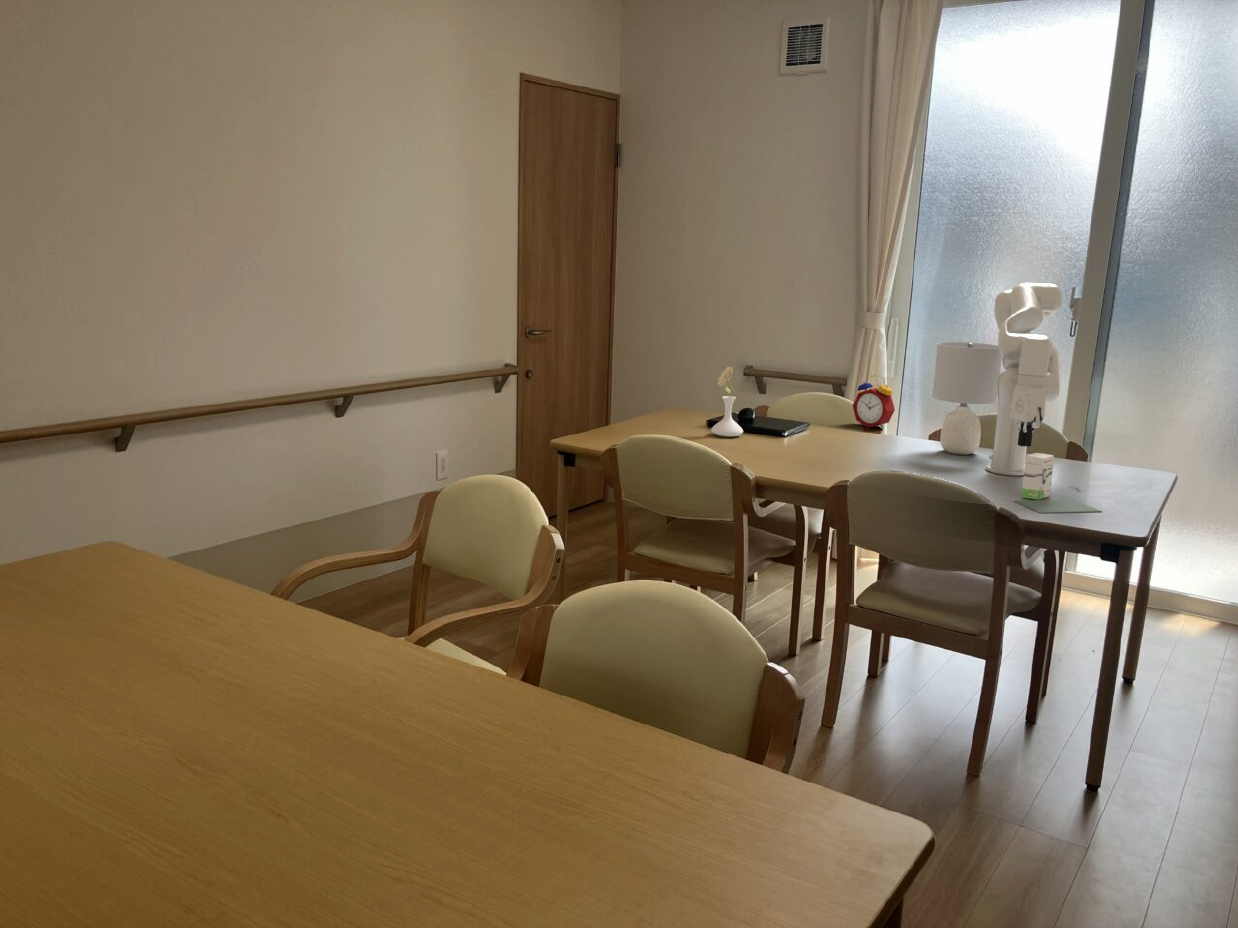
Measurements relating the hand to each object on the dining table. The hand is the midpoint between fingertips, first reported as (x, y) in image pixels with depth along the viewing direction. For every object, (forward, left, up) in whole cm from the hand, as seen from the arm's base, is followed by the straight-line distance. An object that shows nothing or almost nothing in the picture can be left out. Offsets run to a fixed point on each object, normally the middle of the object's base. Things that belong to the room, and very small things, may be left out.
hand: (1024, 445), depth 281 cm
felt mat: (+18, 0, -13) cm, 22 cm away
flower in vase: (-82, -63, -13) cm, 104 cm away
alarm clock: (-99, 0, -13) cm, 100 cm away
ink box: (+8, 0, -13) cm, 15 cm away
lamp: (-51, +9, -13) cm, 54 cm away
